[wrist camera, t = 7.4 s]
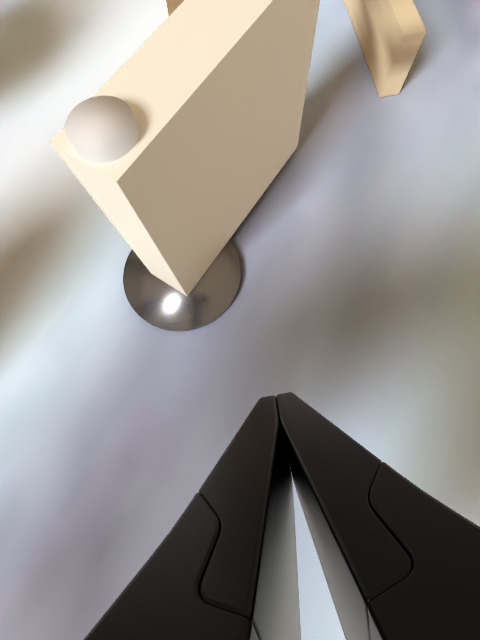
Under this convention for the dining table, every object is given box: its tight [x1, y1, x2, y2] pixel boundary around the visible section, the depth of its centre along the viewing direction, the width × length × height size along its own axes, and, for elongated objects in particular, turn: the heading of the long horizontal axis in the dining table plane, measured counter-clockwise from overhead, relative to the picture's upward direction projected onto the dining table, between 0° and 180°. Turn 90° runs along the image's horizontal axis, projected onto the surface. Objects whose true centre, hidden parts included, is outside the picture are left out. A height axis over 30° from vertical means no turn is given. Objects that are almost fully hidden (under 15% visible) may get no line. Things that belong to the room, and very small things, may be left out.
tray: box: [166, 0, 427, 97], centre depth 20 cm, size 11×13×4 cm
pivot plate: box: [123, 240, 241, 331], centre depth 18 cm, size 6×6×1 cm
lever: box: [49, 0, 320, 296], centre depth 14 cm, size 2×11×9 cm, turn 147°
